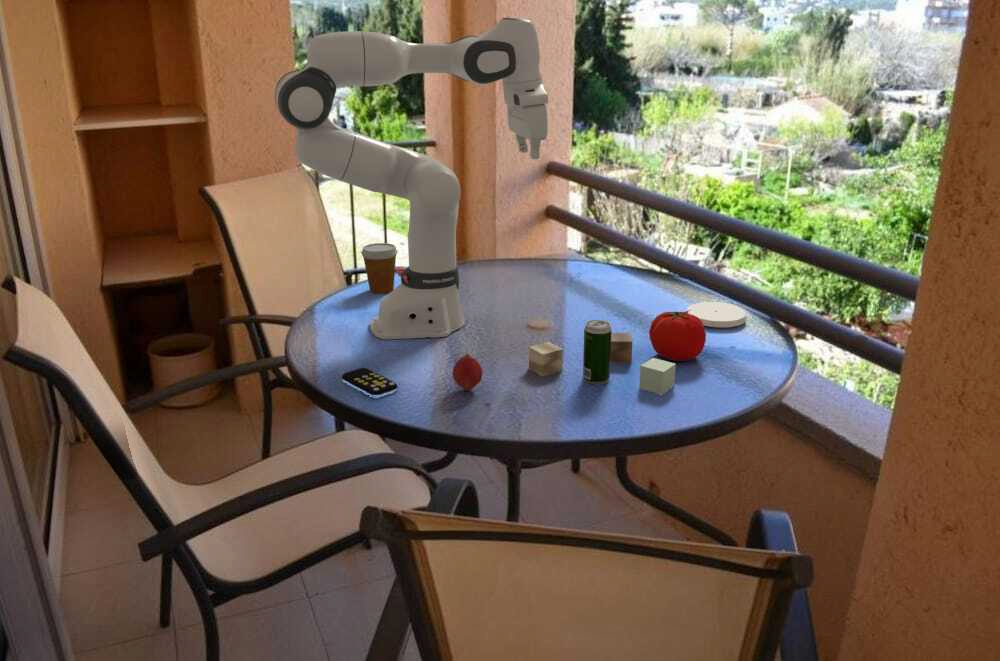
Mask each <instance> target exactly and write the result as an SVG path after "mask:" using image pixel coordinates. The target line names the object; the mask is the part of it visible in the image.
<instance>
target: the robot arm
mask: <svg viewBox="0 0 1000 661" xmlns="http://www.w3.org/2000/svg"><path fill="white" fill-rule="evenodd" d="M538 38H539V37H538V32H537V29H536V25H535V24H534V23H533V21H531V20H530V19H528V18H522V17H502V18H500V19H499V21H498V22H497V23H496V24H495V25H494V26H492V27H491V28H490V29H489V30H487V31H486V32H485V33H483V34H481V35H479V36H477V35H464V36H462V37H460V38H458V39H455V40H453V41H451V42H448V43H418V42H417V43H413V42H409V41H405V40H402V39H401V38H398V37H396V36H395V35H391V34H386V33H382V32H375V31H367V30H361V31H360V30H358V31H357V30H350V31H346V30H345V31H335V32H329V33H328V32H327V33H324V34H323V33H322V34H319V35H316V36H315V37H314V38H312V39H311V41H310V43H309V46H308V48H307V53H306V54H307V55H306V58H307V60H306V65H305V66H304V68H303V69H301V70H293V71H289V72H287V73H285V74H284V75H283V76H282V77H280V79H279V80H278V82H277V84H276V86H275V91H274V102H275V106H276V108H277V111H278V113H279V114H280V116H282V117H283V119H284V120H285V121H286V123H288V124H289V125H291V126H293V127H294V128H295V129H296V139H295V143H294V147H295V148H294V149H295V151H294V152H295V156H296V158H297V160H298V161H299V162H300V163H301V164H302V165H304V166H306V167H307V168H309V169H311V170H313V171H315V172H317V173H319V174H322V175H324V176H327V177H329V178H330V179H334V180H337V181H339V182H342V183H346V184H349V185H351V186H354V187H357V188H360V189H363V190H366V191H370V192H373V193H379V194H384V195H389V196H392V197H396V198H401V199H404V200H407V201H409V224H408V232H407V248H408V251H407V252H408V253H407V254H408V266H407V267H406V268H404V267H403V266H398V267H397V268H395V271H396V272H395V273H396V274H397V276H398V277H400V284H399V285H397V287H394V290H393V291H392V292H390V293H387V294H386V295H385V296H384V297H383V298H382V300H381V301H380V304H379V309H378V315H377V316H373V318H371V320H370V321H369V330H370V332H371V334H373V335H374V336H375V337H376V338H378V339H381V340H401V339H402V340H404V339H405V340H406V339H424V338H425V339H426V337H430V338H443V337H448V336H449V335H451V333H453V332H454V331H456V330H460V329H461V328H463V326H464V325H465V324H466V321H465V318H464V315H463V311H462V308H461V302H460V295H459V290H460V289H459V287H460V271H459V266H458V265H457V241H456V240H457V239H456V237H457V236H456V234H457V225H458V224H457V223H458V219H459V218H458V217H459V209H460V208H459V206H460V200H461V195H462V194H461V193H462V192H461V190H462V189H461V185H460V181H459V179H458V177H457V174H456V173H455V172H454V171H453V170H452V169H450V168H449V167H447V166H446V165H445V164H444V163H442V162H441V161H439V160H438V159H437V158H435V157H433V156H429V155H427V154H424V153H420V152H417V151H414V150H411V149H407V148H404V147H401V146H397V145H395V144H390V143H387V142H385V141H382V140H379V139H376V138H373V137H371V136H367V135H365V134H362V133H360V132H356V131H354V130H351V129H348V128H345V127H342V126H340V125H338V124H336V123H334V122H333V121H332V120H331V119H330V118H329V116H330V114H331V111H332V109H333V104H334V99H335V97H336V93H337V89H339V88H345V87H379V86H384V85H391V84H394V83H396V82H397V81H399V80H400V79H402V78H403V77H405V76H407V75H412V74H450V75H452V76H454V77H456V78H458V79H459V80H463V81H465V82H471V83H474V84H478V85H489V84H492V83H494V82H497V81H500V80H502V91H503V100H504V104H506V109H507V110H506V111H507V112H506V113H507V124H508V125H507V126H508V129H509V131H510V132H513V133H514V134H515V139H516V141H517V146H518V152H520V153H522V154H524V153H528V151H529V154H530V155H529V157H530V159H532V160H539V159H540V156H541V155H540V148H541V141H545V140H546V139H547V137H548V133H549V131H548V129H549V128H548V126H549V125H548V109H547V104H549V95H548V93H547V90H545V89H544V85H543V77H542V72H541V70H540V63H541V62H540V60H541V53H540V43H539V39H538ZM527 140H528V141H529V144H530V150H529V148H528V144H527Z"/></svg>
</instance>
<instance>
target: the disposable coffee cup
mask: <svg viewBox="0 0 1000 661" xmlns="http://www.w3.org/2000/svg"><path fill="white" fill-rule="evenodd" d="M360 253H361V255H362V257H363V262H364V267H365V273H366V277H367V282H368V288H369V292H370V293H372V294H374V295H375V294H376V295H385V294H386V295H387V294H389V293H391V292H392V291H393V290H394V289H395V275H396V274H395V273H396V272H395V271H396V260H397V259H396V258H397V255H398V249H397V247H396V245H395V244H393V243H387V242H378V243H369V244H365V245H364V246H363V247H362V251H361V252H360Z"/></svg>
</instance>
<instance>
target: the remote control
mask: <svg viewBox="0 0 1000 661" xmlns="http://www.w3.org/2000/svg"><path fill="white" fill-rule="evenodd" d="M342 379H343V380H345V381H347V382H349V383H350V384H352V385H354V386H356V387H358V388H360V389H362V390H364V391H366V392H367V393H369V394H371V395H382V394H384V393H387V392H391V391H393V390H396V389H397V388H398V384H397V383H396V382H394V380H393V381H392V380H391V379H388V378H386V377H384V376H383V375H380V374H379V373H376V372H375V371H373V370H371V369H368V368H367V367H359V368H357V369H353V370H350V371H347V372H344V373H343V374H341V380H342ZM398 389H399V388H398Z"/></svg>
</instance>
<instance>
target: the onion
mask: <svg viewBox="0 0 1000 661" xmlns="http://www.w3.org/2000/svg"><path fill="white" fill-rule="evenodd" d="M452 378H453V380H454V382H455V384H457V385H458V387H460V388H462V389H463V390H464V391H466V392H470V391H472V390H473V389H474V388H475V387H476V386H477V385H478V384H480V382H481V380H482V378H483V368H482V366H481V365H480V363H479V362H478V361H477V359H475V358H474V357H472V356H471V355H470V353H469V352H466V353H465V354H464V355H463V356H462V357H461V358H459V359H458V361H456V363H455V364H454V366H453V368H452Z"/></svg>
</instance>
